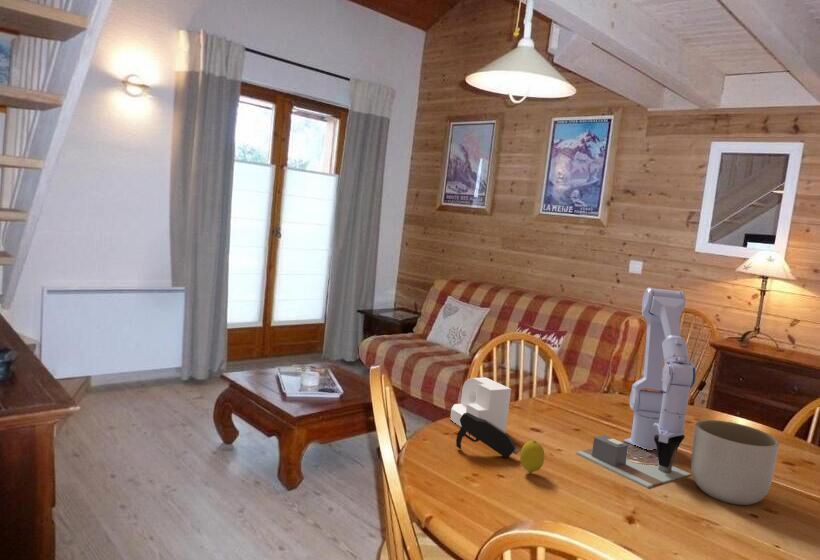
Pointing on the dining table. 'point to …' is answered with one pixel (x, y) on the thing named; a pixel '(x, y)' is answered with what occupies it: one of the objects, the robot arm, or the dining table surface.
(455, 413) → the tape dispenser
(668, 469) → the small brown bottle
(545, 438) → the dining table surface
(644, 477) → the panel
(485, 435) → the gun
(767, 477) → the planter
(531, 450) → the lemon
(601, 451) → the block
